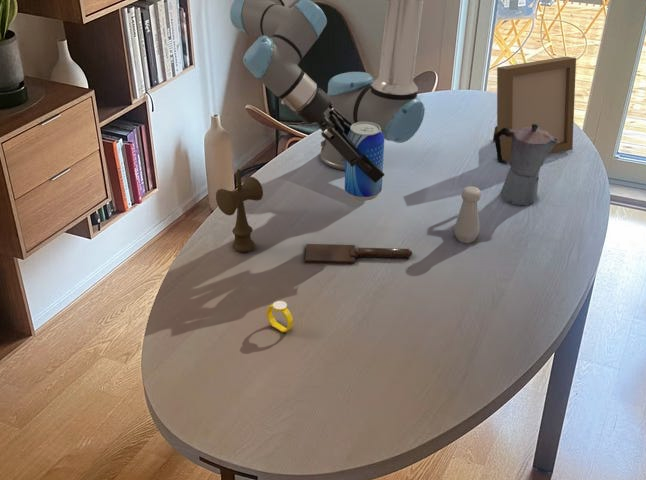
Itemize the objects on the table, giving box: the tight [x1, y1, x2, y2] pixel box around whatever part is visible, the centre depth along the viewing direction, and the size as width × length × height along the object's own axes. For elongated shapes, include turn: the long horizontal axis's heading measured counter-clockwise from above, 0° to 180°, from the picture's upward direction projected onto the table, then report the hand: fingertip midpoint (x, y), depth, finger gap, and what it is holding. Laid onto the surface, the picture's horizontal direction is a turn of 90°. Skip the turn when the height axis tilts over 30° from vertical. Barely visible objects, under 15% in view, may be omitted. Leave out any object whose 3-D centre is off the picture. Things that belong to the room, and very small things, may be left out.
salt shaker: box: [453, 186, 482, 244], centre depth 188 cm, size 6×6×13 cm
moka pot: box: [493, 124, 559, 206], centre depth 202 cm, size 10×15×20 cm, turn 78°
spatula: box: [304, 243, 413, 265], centre depth 185 cm, size 24×7×2 cm, turn 89°
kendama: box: [215, 168, 264, 253], centre depth 182 cm, size 6×10×20 cm, turn 138°
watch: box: [266, 300, 294, 333], centre depth 162 cm, size 6×3×6 cm, turn 51°
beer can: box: [344, 122, 385, 202], centre depth 182 cm, size 8×8×16 cm
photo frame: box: [492, 56, 577, 164], centre depth 223 cm, size 15×22×25 cm
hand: (378, 168), depth 183 cm, fingers closed on beer can, 8 cm apart
